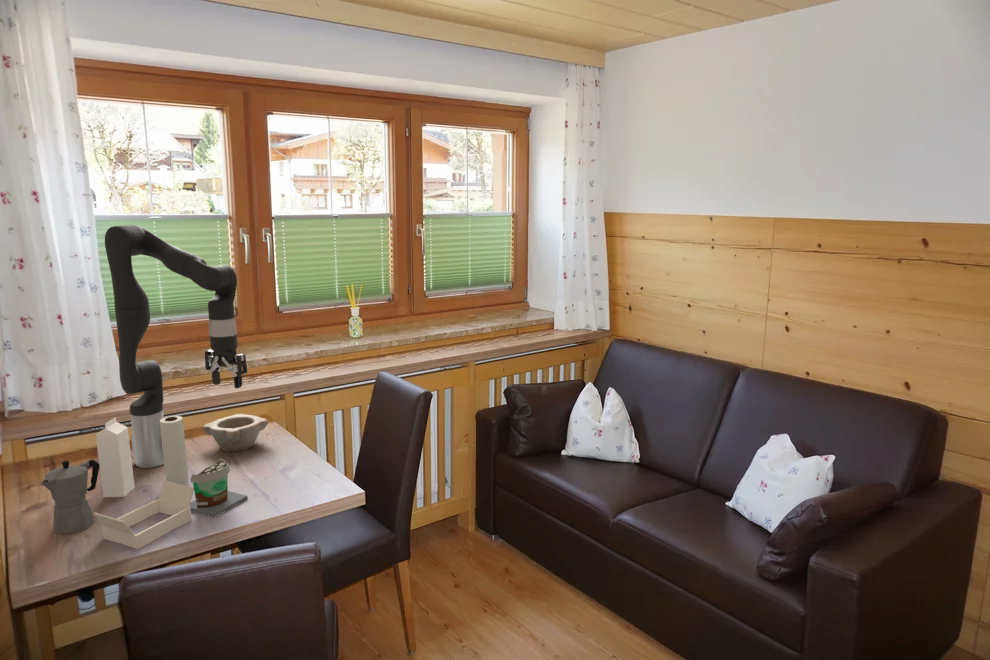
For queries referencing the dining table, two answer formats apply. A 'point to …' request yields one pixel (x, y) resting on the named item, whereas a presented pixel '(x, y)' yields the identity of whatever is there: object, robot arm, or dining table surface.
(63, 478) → the coffeepot
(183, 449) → the paper towel roll
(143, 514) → the carton
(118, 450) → the milk
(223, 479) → the food container
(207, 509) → the trivet
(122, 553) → the dining table surface
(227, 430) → the mortar
